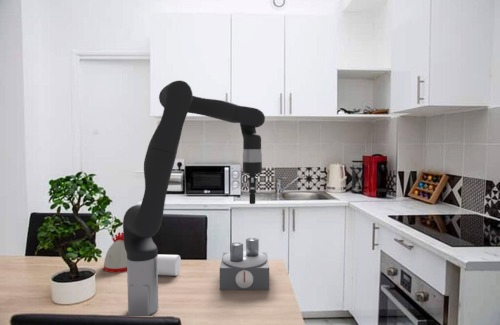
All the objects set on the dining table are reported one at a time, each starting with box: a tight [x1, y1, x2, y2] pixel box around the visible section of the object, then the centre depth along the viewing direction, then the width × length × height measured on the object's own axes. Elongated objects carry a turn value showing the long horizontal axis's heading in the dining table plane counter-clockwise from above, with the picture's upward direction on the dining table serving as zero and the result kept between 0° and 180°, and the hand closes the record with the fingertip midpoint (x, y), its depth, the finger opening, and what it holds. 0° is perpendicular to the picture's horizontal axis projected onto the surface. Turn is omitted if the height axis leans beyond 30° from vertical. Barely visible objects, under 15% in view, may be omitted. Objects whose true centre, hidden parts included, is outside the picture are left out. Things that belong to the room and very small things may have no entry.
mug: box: [158, 254, 182, 277], centre depth 135 cm, size 12×10×8 cm
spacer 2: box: [245, 237, 260, 257], centre depth 129 cm, size 5×5×6 cm
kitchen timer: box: [103, 231, 127, 273], centre depth 142 cm, size 14×14×15 cm
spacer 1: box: [229, 241, 244, 262], centre depth 123 cm, size 5×5×6 cm
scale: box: [219, 249, 270, 291], centre depth 126 cm, size 18×18×9 cm
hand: (252, 202), depth 128 cm, fingers open, 8 cm apart
